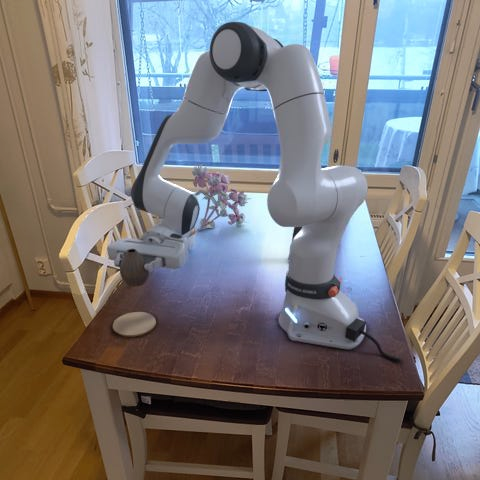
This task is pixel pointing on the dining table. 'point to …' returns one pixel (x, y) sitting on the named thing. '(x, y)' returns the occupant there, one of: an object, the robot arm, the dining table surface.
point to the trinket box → (191, 239)
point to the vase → (133, 268)
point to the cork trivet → (134, 324)
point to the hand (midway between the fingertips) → (131, 266)
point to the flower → (216, 189)
